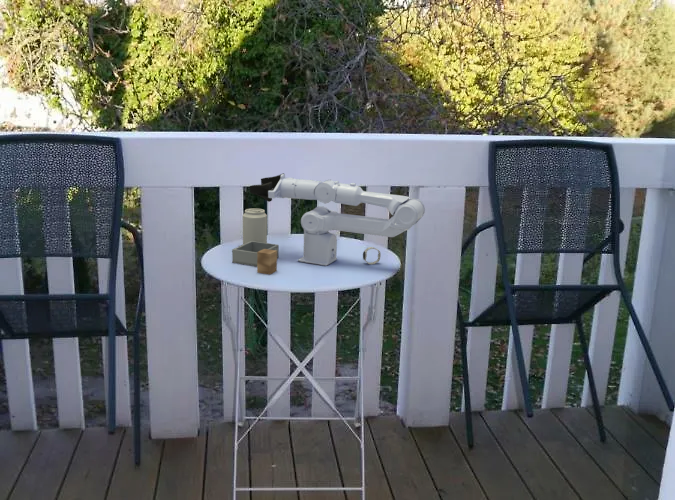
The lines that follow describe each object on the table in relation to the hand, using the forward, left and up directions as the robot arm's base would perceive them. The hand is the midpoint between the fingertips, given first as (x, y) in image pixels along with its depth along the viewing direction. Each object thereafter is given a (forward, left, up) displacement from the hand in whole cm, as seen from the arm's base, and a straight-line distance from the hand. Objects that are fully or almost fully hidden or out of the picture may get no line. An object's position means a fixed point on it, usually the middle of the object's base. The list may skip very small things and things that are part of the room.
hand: (256, 185), depth 217 cm
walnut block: (-12, +16, -21) cm, 29 cm away
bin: (-4, +7, -21) cm, 22 cm away
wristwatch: (-35, -6, -21) cm, 42 cm away
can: (+4, -5, -21) cm, 22 cm away
